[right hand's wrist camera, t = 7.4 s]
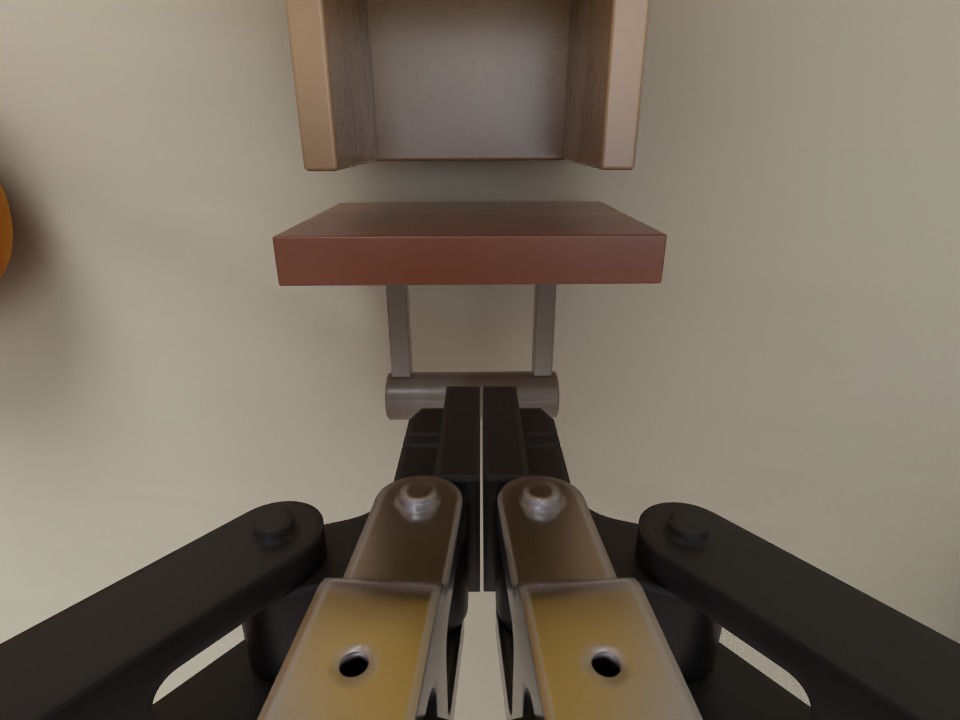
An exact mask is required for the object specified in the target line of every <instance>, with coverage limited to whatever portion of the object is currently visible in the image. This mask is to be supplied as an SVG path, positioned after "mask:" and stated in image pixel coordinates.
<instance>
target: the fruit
mask: <svg viewBox="0 0 960 720" xmlns="http://www.w3.org/2000/svg"><path fill="white" fill-rule="evenodd" d="M12 248H13V226H12V218H11V214H10V209H9V204H8V202H7V199H6V195H5V192H4V190H3V188H2V186H1V184H0V279H1V277H2V275H3V273H4V271H5V269H6V267H7V265H8V262H9V260H10V257H11V252H12Z"/></svg>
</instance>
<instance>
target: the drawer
mask: <svg viewBox="0 0 960 720" xmlns="http://www.w3.org/2000/svg"><path fill="white" fill-rule="evenodd" d="M285 2H286V10H287V19H288V28H289V37H290V46H291V55H292V64H293V72H294V81H295V90H296V99H297V108H298V117H299V125H300V134H301V143H302V152H303V161H304V167H305V169H306V170H307V171H337V170H341V169H345V168H349V167H353V166H357V165H361V164H366V163H370V162H374V161H514V160H566V161H570V162H574V163H578V164H582V165H586V166H590V167H594V168H598V169H602V170H631V169H633V168H634V165H635V154H636V144H637V133H638V122H639V111H640V101H641V90H642V79H643V68H644V58H645V47H646V36H647V26H648V15H649V4H650V0H285ZM666 238H667V236H666V234H664V233H662V232H660V231H658V230H656V229H654V228H652V227H650V226H648V225H646V224H644V223H642V222H640V221H638V220H636V219H634V218H632V217H630V216H628V215H626V214H624V213H622V212H620V211H618V210H616V209H614V208H612V207H610V206H608V205H606V204H604V203H602V202H470V203H340V204H338V205H336V206H334V207H332V208H330V209H328V210H326V211H324V212H322V213H320V214H318V215H316V216H314V217H312V218H310V219H308V220H306V221H304V222H302V223H300V224H298V225H296V226H294V227H292V228H290V229H288V230H286V231H284V232H282V233H280V234H278V235H276V236H274V237H273V245H274V252H275V259H276V266H277V274H278V281H279V285H281V286H321V285H386V293H387V308H388V323H389V338H390V353H391V368H392V373H389V374H388V376H387V379H386V386H385V406H386V414H387V417H388V419H390V420H403V419H411V418H412V417H413V416H414V415H415V414H416V413H417V412H418V411H420V410H421V409H422V408H444V402H445V395H446V388H447V386H480V419H483V386H516V388H517V395H518V402H519V408H541V409H542V410H544V411H545V412H546V413H547V414H548V415H549V416H550V417H551V418H556V417H557V414H558V410H559V383H558V377H557V374H556V372H554V371H552V362H553V342H554V321H555V300H556V284H626V283H661V280H662V272H663V263H664V255H665V246H666ZM473 284H535V288H534V318H533V348H532V371H513V372H412V352H411V333H410V314H409V294H408V285H473Z"/></svg>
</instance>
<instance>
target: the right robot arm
mask: <svg viewBox="0 0 960 720" xmlns="http://www.w3.org/2000/svg"><path fill="white" fill-rule="evenodd" d="M483 561H484V591H496V638H497V646H498V654H499V662H500V670H501V678H502V686H503V695H504V703H505V711H506V719H507V720H960V644H959V643H957V642H955V641H953V640H951V639H949V638H947V637H946V636H944V635H942V634H940V633H938V632H936V631H934V630H932V629H931V628H929V627H927V626H925V625H923V624H921V623H919V622H917V621H916V620H914V619H912V618H910V617H908V616H906V615H904V614H902V613H901V612H899V611H897V610H895V609H893V608H891V607H889V606H887V605H886V604H884V603H882V602H880V601H878V600H876V599H874V598H872V597H871V596H869V595H867V594H865V593H863V592H861V591H859V590H857V589H856V588H854V587H852V586H850V585H848V584H846V583H844V582H842V581H841V580H839V579H837V578H835V577H833V576H831V575H829V574H827V573H826V572H824V571H822V570H820V569H818V568H816V567H814V566H812V565H811V564H809V563H807V562H805V561H803V560H801V559H799V558H797V557H796V556H794V555H792V554H790V553H788V552H786V551H784V550H782V549H781V548H779V547H777V546H775V545H773V544H771V543H769V542H767V541H766V540H764V539H762V538H760V537H758V536H756V535H754V534H752V533H751V532H749V531H747V530H745V529H743V528H741V527H739V526H737V525H736V524H734V523H732V522H730V521H728V520H726V519H724V518H722V517H721V516H719V515H717V514H715V513H713V512H711V511H709V510H707V509H704V508H701V507H698V506H695V505H691V504H686V503H676V502H669V503H661V504H657V505H653V506H651V507H649V508H648V509H646V510H645V511H644V512H643V513H642V515H641V516H640V519H639V524H635V523H630V522H626V521H621V520H616V519H613V518H609V517H606V516H603V515H600V514H598V513H596V512H594V511H592V510H590V509H589V508H588V506H587V504H586V501H585V499H584V497H583V495H582V493H581V492H580V491H579V490H578V489H577V488H576V487H574V486H573V485H571V484H570V480H569V476H568V473H567V469H566V465H565V461H564V457H563V453H562V450H561V447H560V442H559V438H558V436H557V430H556V427H555V423H554V419H552V418H551V417H550V416H549V415H548V414H547V413H546V412H545V411H544V410H542V409H541V408H519V402H518V395H517V388H516V386H483ZM468 592H480V386H447V388H446V395H445V402H444V408H422V409H421V410H420V411H418V412H417V413H416V414H415V415H414V416H413V417H412V418H411V419H410V420H409V423H408V427H407V431H406V436H405V439H404V443H403V447H402V451H401V455H400V459H399V463H398V467H397V471H396V475H395V479H394V482H392V483H390V484H389V485H387V486H386V487H384V488H383V489H382V490H381V491H380V492H379V493H378V495H377V497H376V499H375V501H374V504H373V506H372V509H371V511H370V512H369V513H366V514H364V515H362V516H359V517H356V518H352V519H348V520H344V521H339V522H335V523H330V524H325V525H324V523H323V517H322V515H321V513H320V512H319V511H318V510H317V509H316V508H315V507H313V506H311V505H309V504H306V503H303V502H296V501H284V502H276V503H271V504H267V505H263V506H260V507H258V508H255V509H253V510H251V511H249V512H247V513H245V514H243V515H241V516H239V517H238V518H236V519H234V520H232V521H230V522H228V523H226V524H224V525H223V526H221V527H219V528H217V529H215V530H213V531H211V532H209V533H208V534H206V535H204V536H202V537H200V538H198V539H196V540H194V541H193V542H191V543H189V544H187V545H185V546H183V547H181V548H179V549H178V550H176V551H174V552H172V553H170V554H168V555H166V556H164V557H163V558H161V559H159V560H157V561H155V562H153V563H151V564H149V565H148V566H146V567H144V568H142V569H140V570H138V571H136V572H134V573H133V574H131V575H129V576H127V577H125V578H123V579H121V580H119V581H118V582H116V583H114V584H112V585H110V586H108V587H106V588H104V589H103V590H101V591H99V592H97V593H95V594H93V595H91V596H89V597H88V598H86V599H84V600H82V601H80V602H78V603H76V604H74V605H73V606H71V607H69V608H67V609H65V610H63V611H61V612H59V613H58V614H56V615H54V616H52V617H50V618H48V619H46V620H45V621H43V622H41V623H39V624H37V625H35V626H33V627H31V628H30V629H28V630H26V631H24V632H22V633H20V634H18V635H16V636H15V637H13V638H11V639H9V640H7V641H5V642H3V643H1V644H0V720H453V719H454V711H455V703H456V695H457V686H458V678H459V670H460V662H461V654H462V646H463V638H464V618H465V616H466V613H467V609H468ZM241 624H242V627H243V632H244V637H245V640H243V641H242V642H240V643H239V644H238V645H236V646H235V647H233V648H232V649H231V650H229V651H228V652H226V653H225V654H224V655H222V656H221V657H219V658H218V659H216V660H215V661H214V662H212V663H211V664H209V665H208V666H207V667H205V668H204V669H202V670H201V671H200V672H198V673H197V674H195V675H194V676H193V677H191V678H190V679H188V680H187V681H186V682H184V683H183V684H181V685H180V686H179V687H177V688H176V689H174V690H173V691H172V692H170V693H169V694H167V695H166V696H164V697H163V698H162V699H160V700H159V701H157V702H156V703H154V704H153V700H154V697H155V694H156V692H157V690H158V689H159V687H160V685H161V684H162V683H163V681H164V680H165V679H166V678H167V677H168V676H169V675H170V674H171V673H172V672H173V671H174V670H176V669H177V668H178V667H180V666H181V665H183V664H184V663H186V662H187V661H189V660H190V659H191V658H193V657H194V656H196V655H197V654H199V653H200V652H202V651H203V650H205V649H206V648H207V647H209V646H210V645H212V644H213V643H215V642H216V641H218V640H219V639H221V638H222V637H223V636H225V635H226V634H228V633H229V632H231V631H232V630H234V629H235V628H237V627H238V626H240V625H241ZM722 627H723V628H725V629H726V630H728V631H729V632H731V633H732V634H734V635H735V636H737V637H738V638H739V639H741V640H742V641H744V642H745V643H747V644H748V645H750V646H751V647H753V648H754V649H755V650H757V651H758V652H760V653H761V654H763V655H764V656H766V657H767V658H769V659H770V660H771V661H773V662H774V663H776V664H777V665H779V666H780V667H782V668H783V669H785V670H786V671H787V672H789V673H790V674H791V675H792V676H793V677H794V678H795V679H796V680H797V681H798V682H799V683H800V684H801V686H802V687H803V689H804V690H805V692H806V694H807V696H808V698H809V700H810V704H811V707H810V706H808V705H807V704H805V703H804V702H803V701H801V700H800V699H798V698H797V697H796V696H794V695H793V694H791V693H790V692H789V691H787V690H786V689H784V688H783V687H781V686H780V685H779V684H777V683H776V682H774V681H773V680H772V679H770V678H769V677H767V676H766V675H765V674H763V673H762V672H760V671H759V670H758V669H756V668H755V667H753V666H752V665H751V664H749V663H748V662H746V661H745V660H744V659H742V658H741V657H739V656H738V655H736V654H735V653H734V652H732V651H731V650H729V649H728V648H727V647H725V646H724V645H722V644H721V643H720V642H719V638H720V634H721V629H722Z"/></svg>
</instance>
